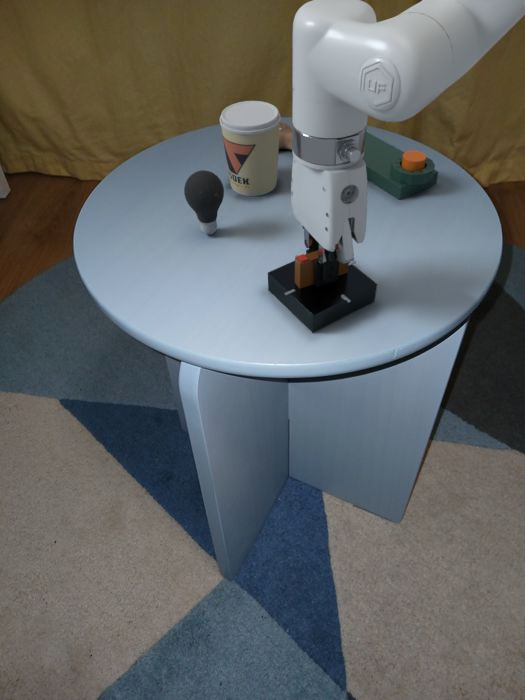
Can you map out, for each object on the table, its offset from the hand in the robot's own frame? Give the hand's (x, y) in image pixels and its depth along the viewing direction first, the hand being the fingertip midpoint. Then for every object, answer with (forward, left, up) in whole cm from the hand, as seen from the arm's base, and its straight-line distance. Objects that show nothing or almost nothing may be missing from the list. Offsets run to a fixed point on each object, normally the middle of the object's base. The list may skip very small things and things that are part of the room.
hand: (321, 276), depth 71 cm
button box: (+20, -28, -3) cm, 35 cm away
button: (+13, -28, 0) cm, 31 cm away
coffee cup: (+29, -8, -3) cm, 30 cm away
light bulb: (+21, +5, -3) cm, 22 cm away
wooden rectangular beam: (0, 0, 0) cm, 0 cm away
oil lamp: (+37, -19, -3) cm, 42 cm away
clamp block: (0, 0, -3) cm, 3 cm away
